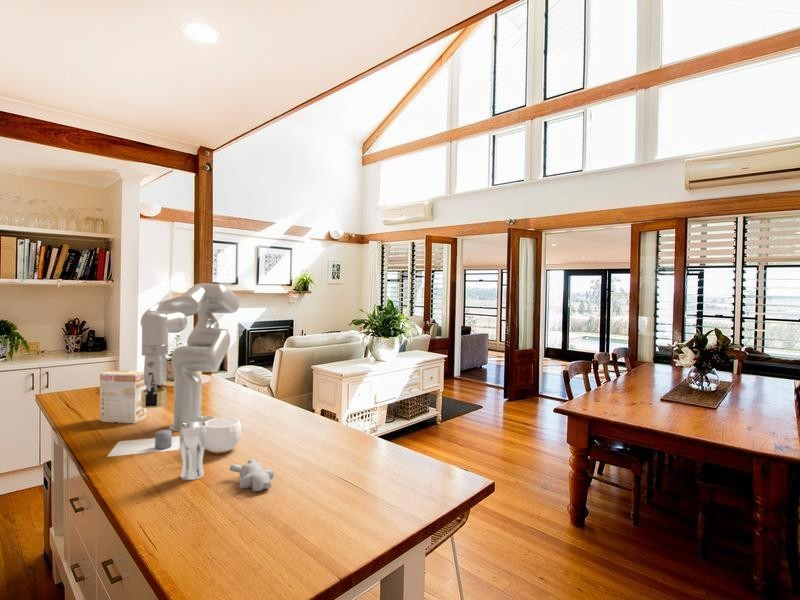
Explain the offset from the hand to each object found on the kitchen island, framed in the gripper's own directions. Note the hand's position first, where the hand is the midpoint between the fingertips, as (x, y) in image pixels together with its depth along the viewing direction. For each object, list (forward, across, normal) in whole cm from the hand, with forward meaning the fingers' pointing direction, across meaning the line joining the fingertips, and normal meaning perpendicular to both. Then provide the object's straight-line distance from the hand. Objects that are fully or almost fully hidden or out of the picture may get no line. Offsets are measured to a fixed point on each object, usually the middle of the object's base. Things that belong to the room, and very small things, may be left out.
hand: (154, 402), depth 142 cm
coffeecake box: (+16, +37, +19) cm, 44 cm away
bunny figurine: (+16, -33, -32) cm, 49 cm away
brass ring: (+1, 0, 0) cm, 1 cm away
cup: (+16, -6, -21) cm, 27 cm away
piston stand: (+16, +1, +2) cm, 16 cm away
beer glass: (+16, -25, -15) cm, 33 cm away
